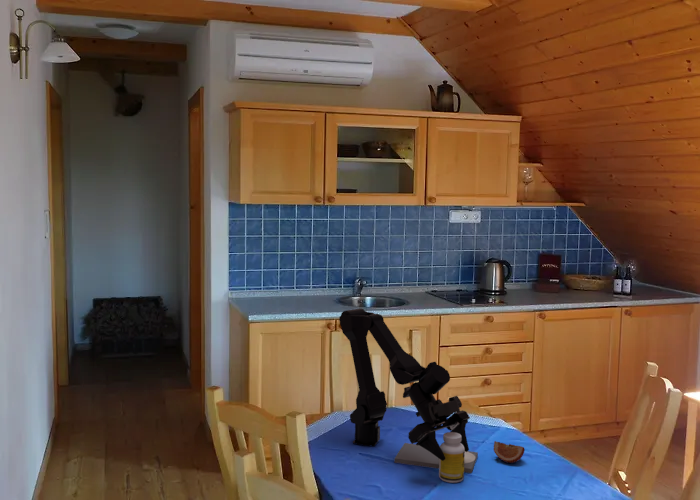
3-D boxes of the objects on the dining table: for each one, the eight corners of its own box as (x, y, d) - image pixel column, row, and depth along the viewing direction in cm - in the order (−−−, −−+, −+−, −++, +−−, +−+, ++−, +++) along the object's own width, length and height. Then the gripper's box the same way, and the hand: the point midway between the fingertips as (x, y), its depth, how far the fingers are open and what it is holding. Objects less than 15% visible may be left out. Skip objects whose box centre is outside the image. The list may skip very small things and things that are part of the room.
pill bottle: (463, 484, 183) (464, 440, 182) (437, 482, 185) (438, 438, 183) (464, 474, 190) (465, 431, 188) (439, 472, 191) (440, 429, 190)
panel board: (394, 462, 197) (394, 457, 197) (404, 446, 208) (404, 442, 208) (471, 473, 190) (471, 468, 190) (477, 456, 202) (477, 452, 202)
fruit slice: (489, 461, 199) (490, 443, 198) (498, 453, 204) (499, 436, 204) (518, 468, 194) (519, 450, 194) (527, 460, 200) (528, 442, 199)
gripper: (417, 394, 181) (449, 449, 174) (465, 380, 194) (497, 432, 187) (394, 416, 188) (424, 470, 181) (442, 402, 200) (472, 452, 193)
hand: (456, 455), depth 185 cm, fingers open, 9 cm apart
